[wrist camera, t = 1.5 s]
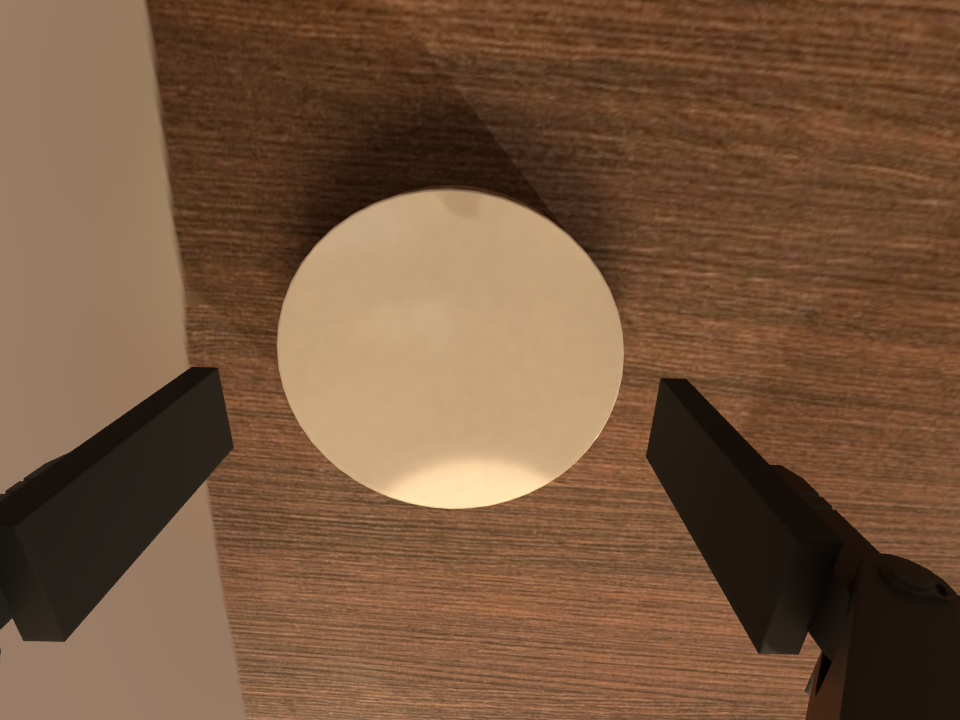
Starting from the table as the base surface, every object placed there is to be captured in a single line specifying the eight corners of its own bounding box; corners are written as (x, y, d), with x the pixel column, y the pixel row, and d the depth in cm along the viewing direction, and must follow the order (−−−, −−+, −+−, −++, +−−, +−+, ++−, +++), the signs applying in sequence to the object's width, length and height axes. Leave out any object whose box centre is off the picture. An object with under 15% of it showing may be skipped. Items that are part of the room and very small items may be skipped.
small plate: (280, 179, 16) (249, 182, 14) (629, 189, 16) (651, 194, 14) (317, 469, 21) (298, 505, 19) (588, 476, 21) (601, 513, 19)
